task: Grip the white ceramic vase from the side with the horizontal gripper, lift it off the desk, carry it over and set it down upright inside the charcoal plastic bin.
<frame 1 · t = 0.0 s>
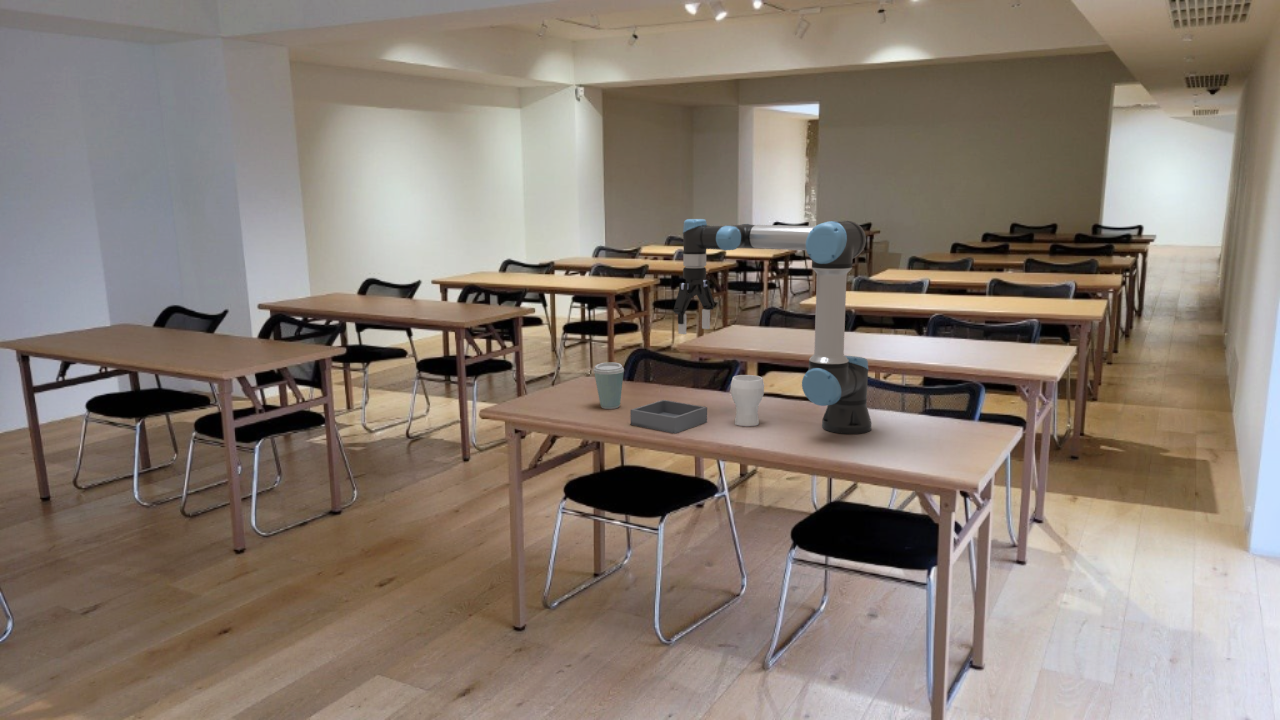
hand: (694, 331, 303), 28 cm above the table, tool pointing down, fingers open, 13 cm apart
white ceramic vase: (746, 424, 295), on the table
bin: (668, 423, 295), on the table
disposable coffee cup: (609, 407, 318), on the table
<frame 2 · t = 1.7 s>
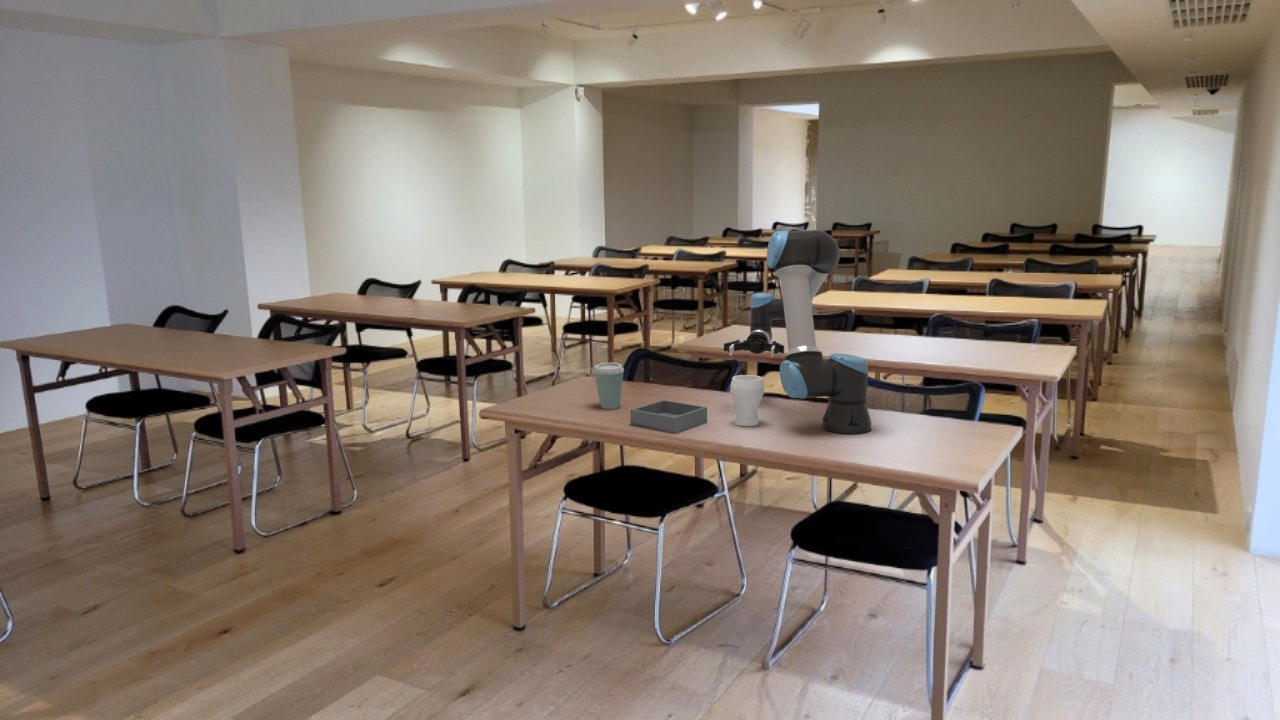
hand: (751, 352, 300), 22 cm above the table, tool horizontal, fingers open, 13 cm apart
nothing on the table moved.
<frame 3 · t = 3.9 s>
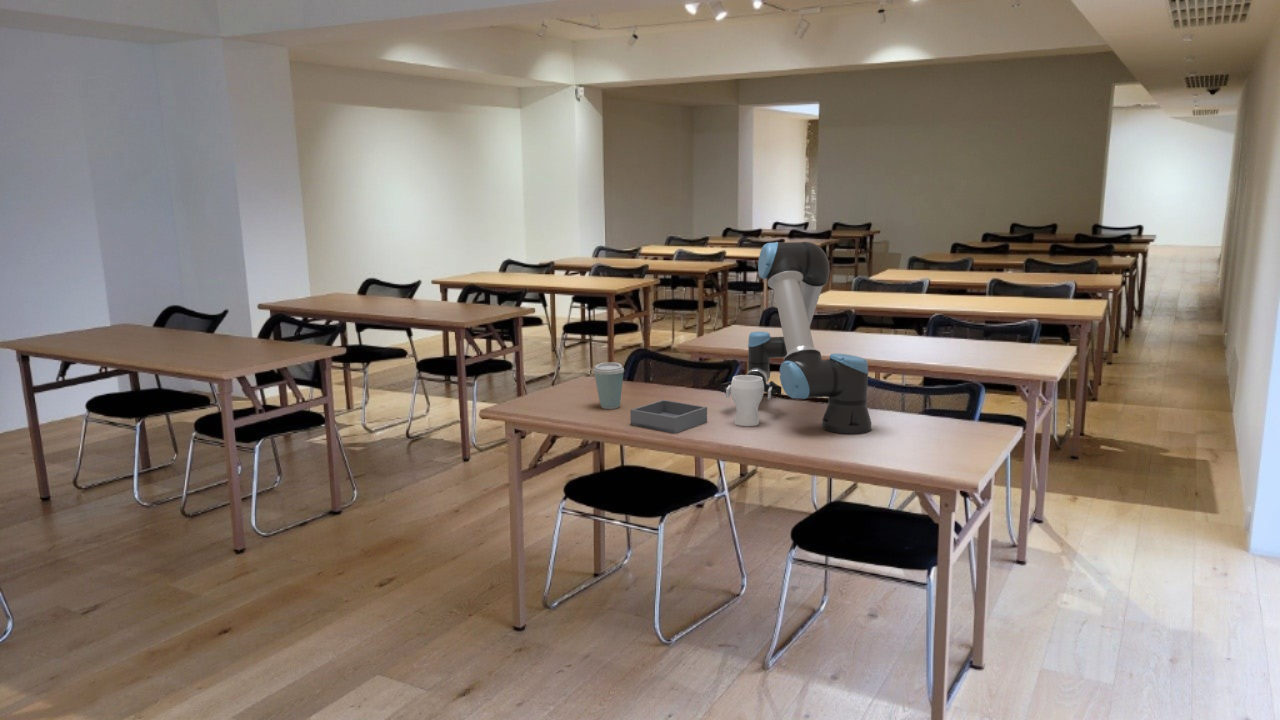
hand: (747, 394, 299), 8 cm above the table, tool horizontal, fingers open, 13 cm apart
nothing on the table moved.
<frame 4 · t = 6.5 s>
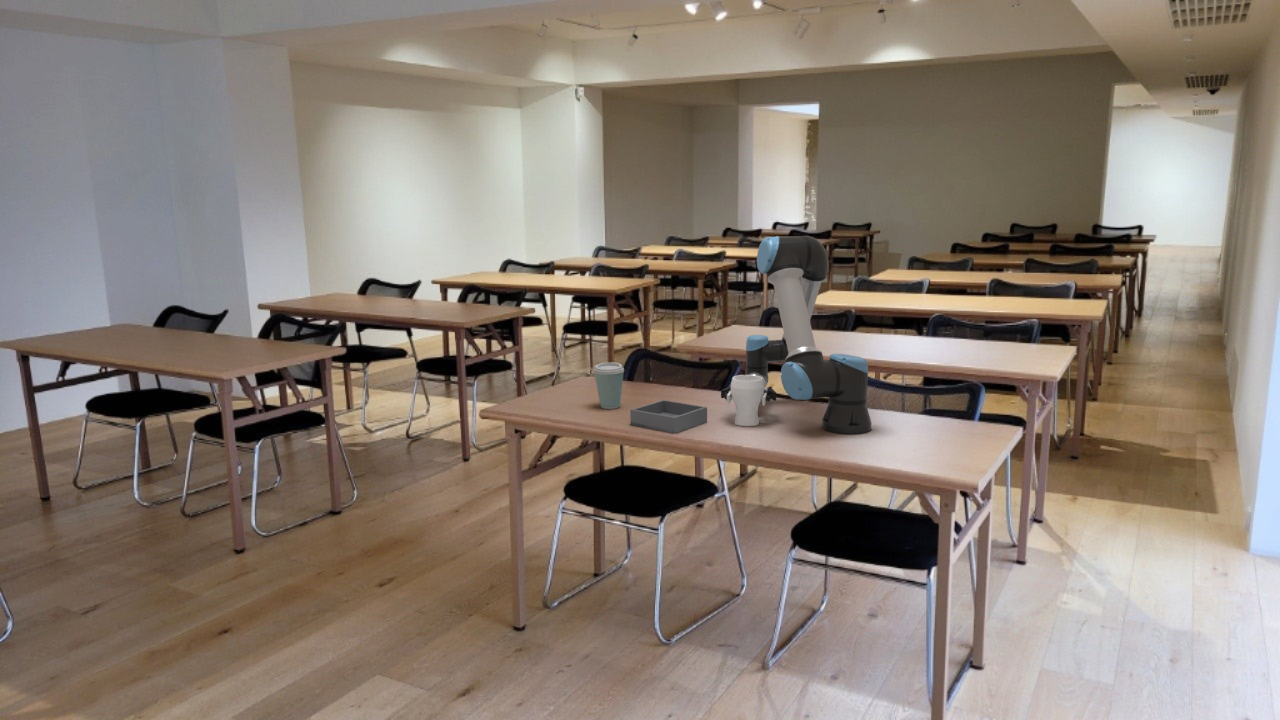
hand: (745, 400, 289), 9 cm above the table, tool horizontal, fingers closed on white ceramic vase, 11 cm apart
white ceramic vase: (746, 424, 295), on the table, touching gripper
everything else where it was.
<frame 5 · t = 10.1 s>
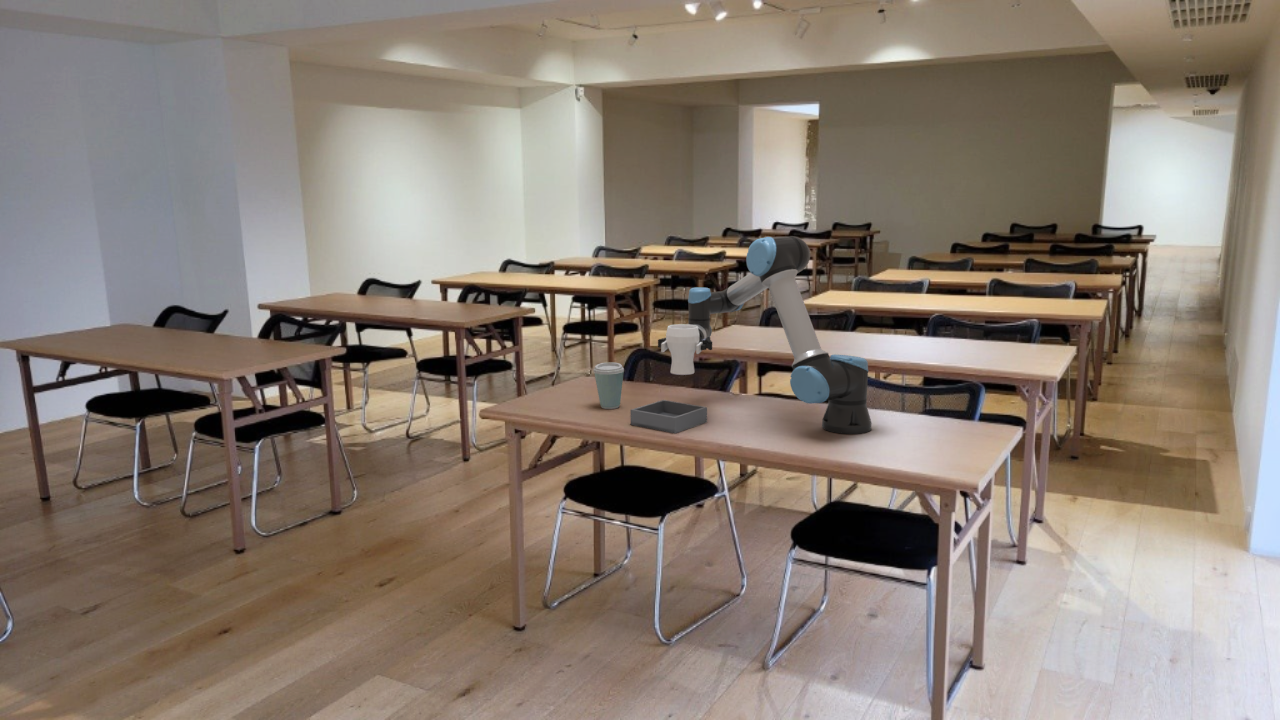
hand: (679, 348, 289), 25 cm above the table, tool horizontal, fingers closed on white ceramic vase, 11 cm apart
white ceramic vase: (682, 373, 294), point 16 cm above the table, touching gripper
everything else where it was.
when the fingers open (11 cm above the table, at t = 14.0 s): white ceramic vase drops 1 cm, resting on bin.
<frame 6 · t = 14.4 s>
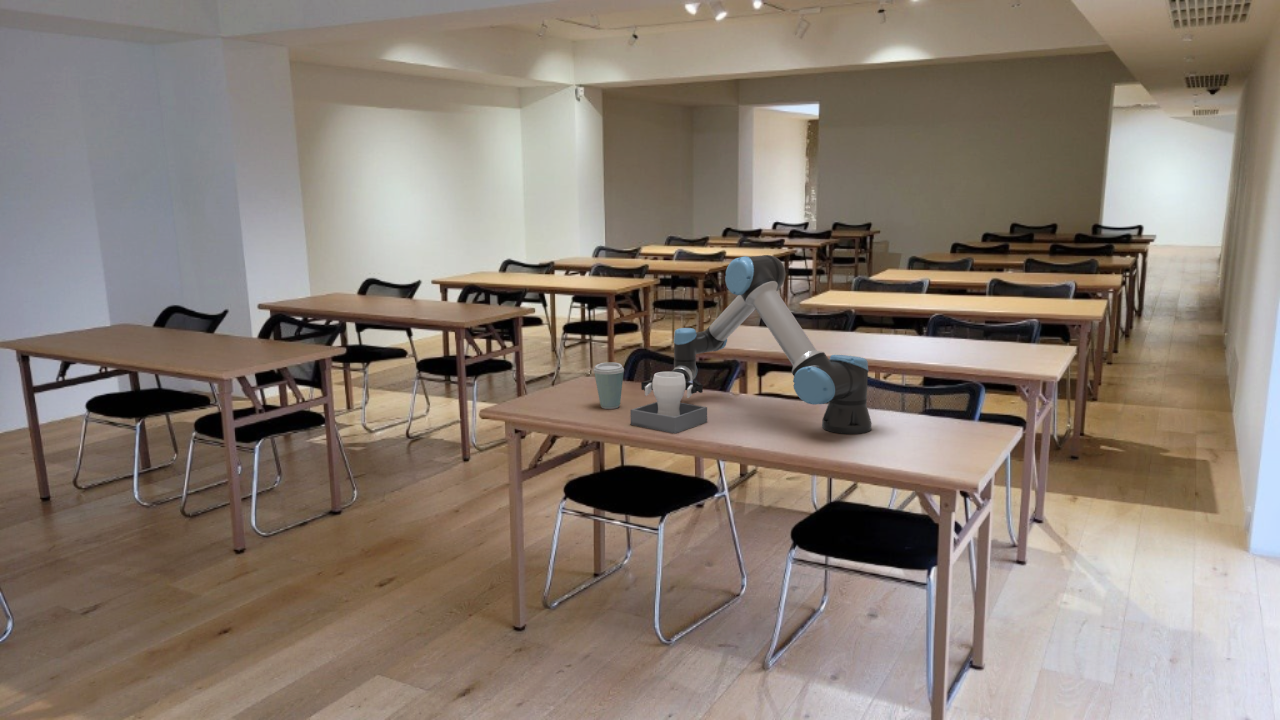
hand: (666, 392, 290), 11 cm above the table, tool horizontal, fingers open, 13 cm apart
white ceramic vase: (668, 420, 295), point 1 cm above the table, touching bin
everything else where it was.
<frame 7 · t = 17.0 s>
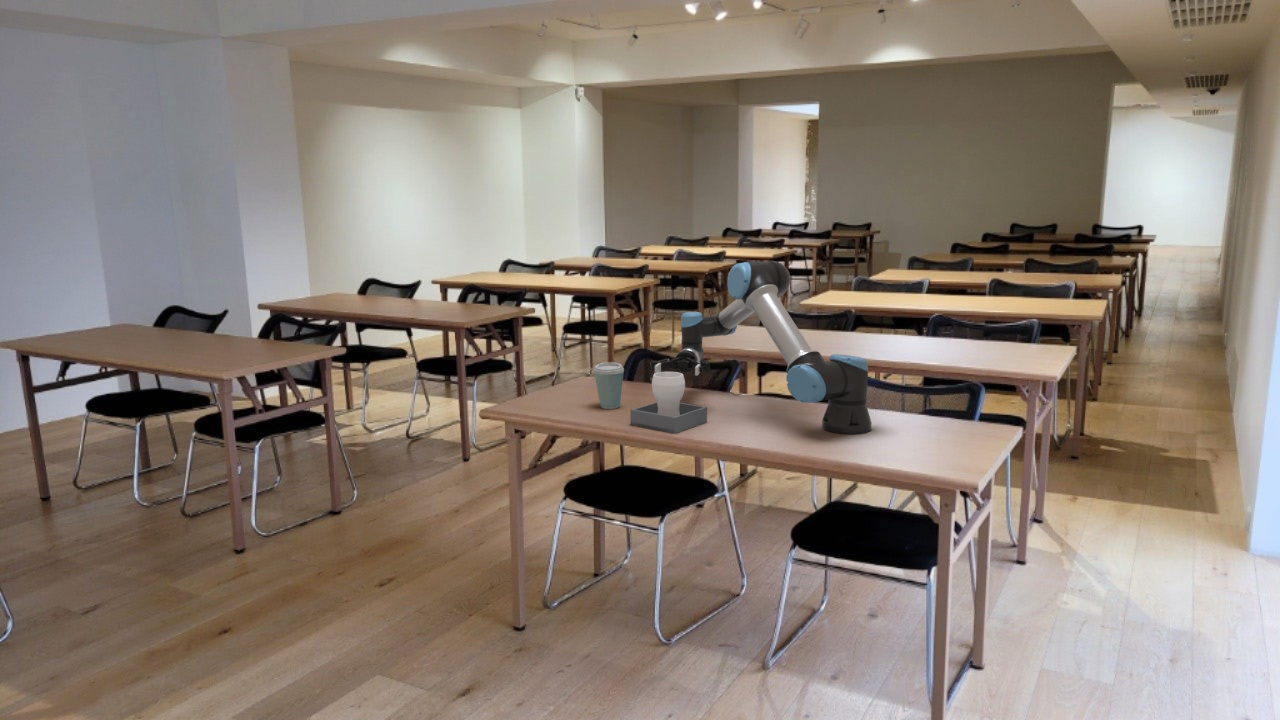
hand: (675, 370, 303), 15 cm above the table, tool horizontal, fingers open, 13 cm apart
nothing on the table moved.
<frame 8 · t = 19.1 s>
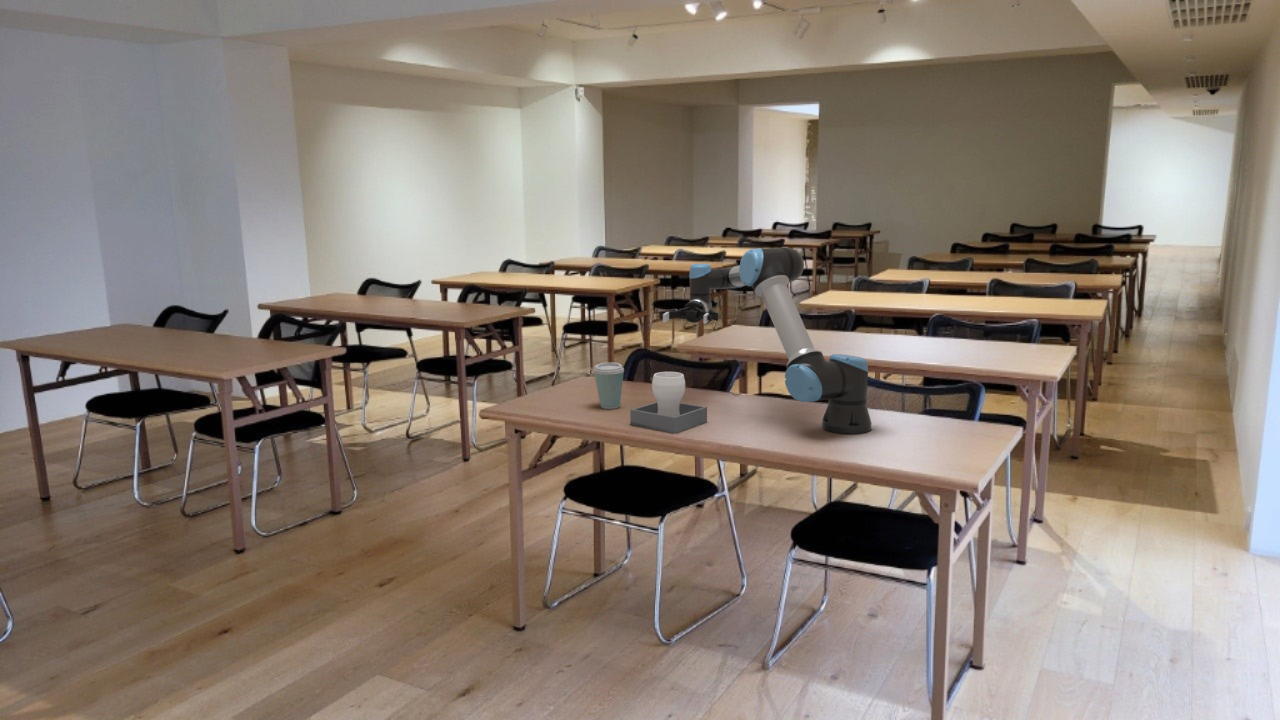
hand: (684, 319, 303), 32 cm above the table, tool horizontal, fingers open, 13 cm apart
nothing on the table moved.
at the end: white ceramic vase inside the target area on the bin (0.2 cm from its centre), point 0.8 cm above the bin's base; white ceramic vase tilted 0°; the gripper is holding nothing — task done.
